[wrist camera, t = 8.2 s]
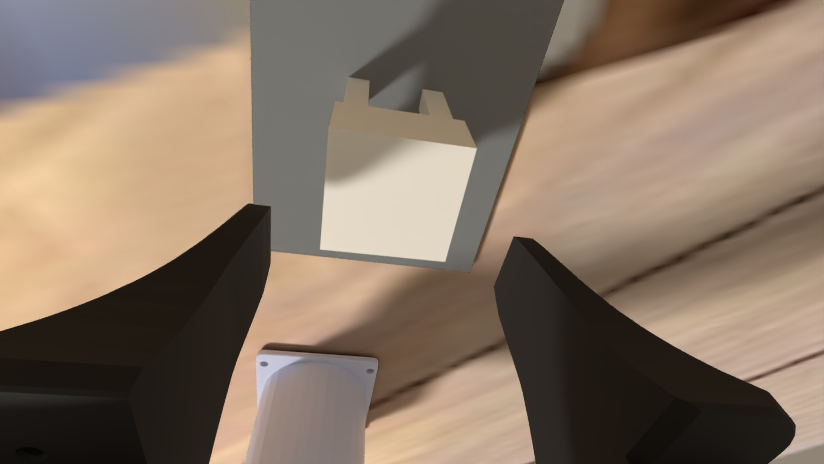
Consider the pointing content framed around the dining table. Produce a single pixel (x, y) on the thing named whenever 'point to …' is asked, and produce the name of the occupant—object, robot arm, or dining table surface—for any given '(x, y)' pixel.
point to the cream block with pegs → (394, 177)
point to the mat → (387, 96)
